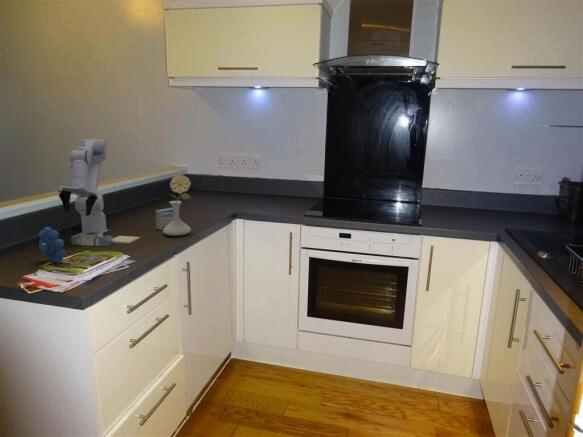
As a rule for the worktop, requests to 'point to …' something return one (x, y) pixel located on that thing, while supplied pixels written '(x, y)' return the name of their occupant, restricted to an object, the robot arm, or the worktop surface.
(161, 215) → the medicine box
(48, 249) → the grapes
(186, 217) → the worktop surface
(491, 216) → the worktop surface
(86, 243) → the grey hollow block
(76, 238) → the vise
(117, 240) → the mat
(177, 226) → the flower in vase
